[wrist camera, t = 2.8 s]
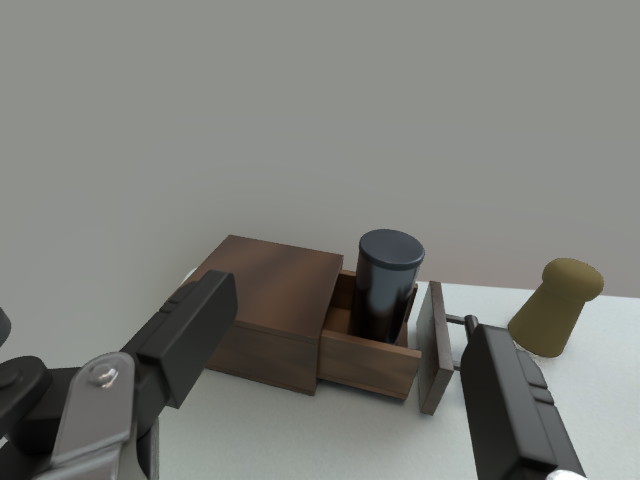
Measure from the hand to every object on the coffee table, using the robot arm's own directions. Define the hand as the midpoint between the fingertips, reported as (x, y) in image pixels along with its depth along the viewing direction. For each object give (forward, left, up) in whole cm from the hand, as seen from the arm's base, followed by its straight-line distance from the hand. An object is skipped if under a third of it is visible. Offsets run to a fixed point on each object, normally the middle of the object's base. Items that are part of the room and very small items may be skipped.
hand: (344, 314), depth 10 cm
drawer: (+9, +13, -21) cm, 26 cm away
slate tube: (+7, +14, -20) cm, 25 cm away
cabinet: (-4, +18, -22) cm, 29 cm away
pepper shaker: (+29, +15, -22) cm, 39 cm away
